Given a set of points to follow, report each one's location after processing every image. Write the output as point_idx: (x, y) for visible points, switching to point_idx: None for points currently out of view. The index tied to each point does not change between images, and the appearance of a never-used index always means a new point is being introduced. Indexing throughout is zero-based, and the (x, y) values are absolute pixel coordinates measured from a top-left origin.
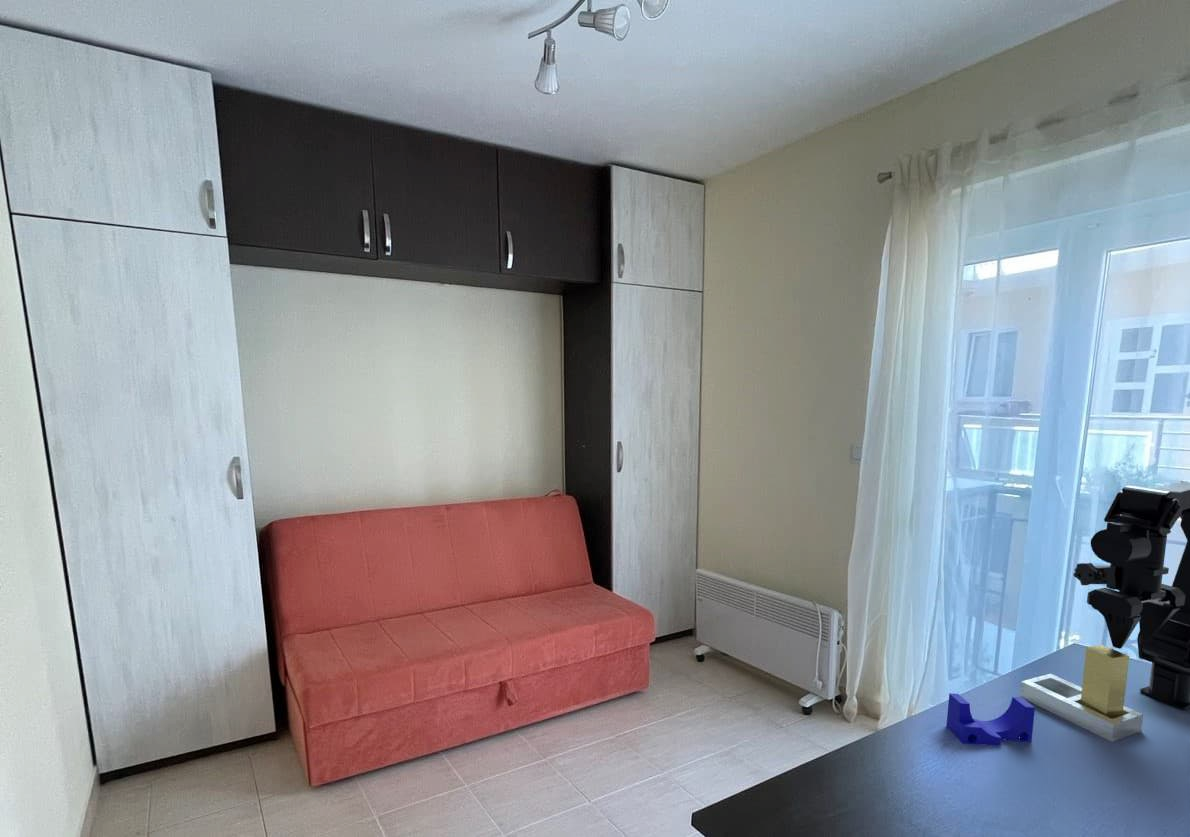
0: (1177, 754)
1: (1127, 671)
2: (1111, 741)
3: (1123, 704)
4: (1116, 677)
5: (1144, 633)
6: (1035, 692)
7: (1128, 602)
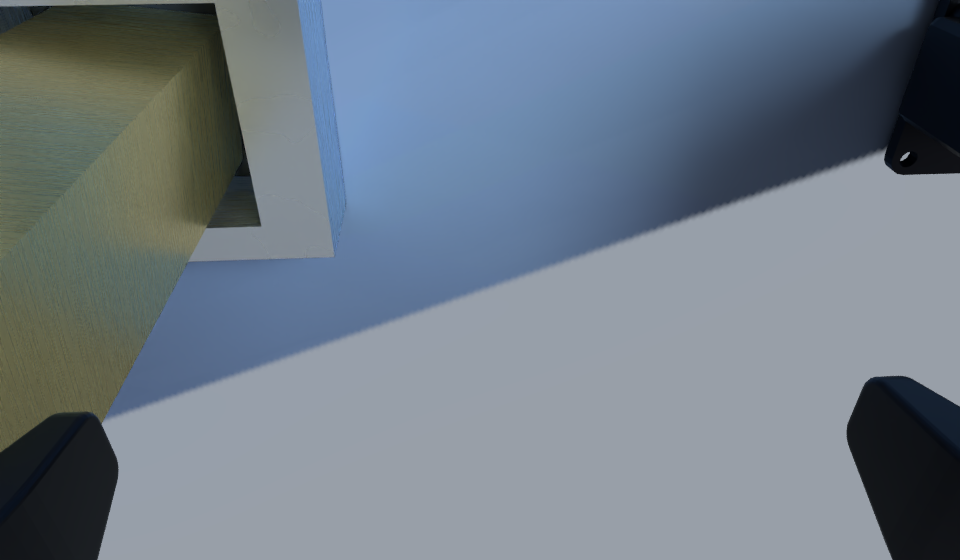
0: (298, 345)
1: (100, 419)
2: None
3: (197, 237)
4: None
5: (917, 486)
6: None
7: None
